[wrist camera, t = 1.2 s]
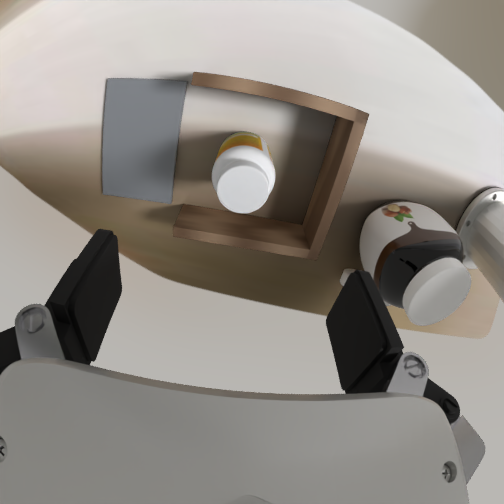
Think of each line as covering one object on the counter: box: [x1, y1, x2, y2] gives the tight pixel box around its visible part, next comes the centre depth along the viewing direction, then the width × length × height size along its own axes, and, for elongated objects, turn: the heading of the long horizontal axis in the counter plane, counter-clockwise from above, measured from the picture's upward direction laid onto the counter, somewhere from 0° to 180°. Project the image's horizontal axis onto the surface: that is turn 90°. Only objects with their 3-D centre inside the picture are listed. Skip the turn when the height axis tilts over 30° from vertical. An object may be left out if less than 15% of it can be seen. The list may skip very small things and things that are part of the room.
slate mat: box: [102, 78, 187, 204], centre depth 24 cm, size 8×12×1 cm, turn 168°
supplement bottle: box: [212, 132, 275, 213], centre depth 22 cm, size 5×5×8 cm
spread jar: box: [340, 200, 471, 326], centre depth 26 cm, size 12×11×12 cm
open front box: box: [173, 72, 369, 260], centre depth 23 cm, size 13×14×4 cm
